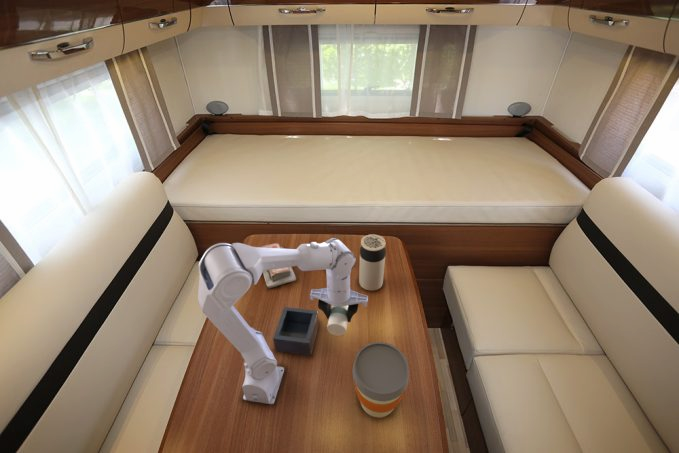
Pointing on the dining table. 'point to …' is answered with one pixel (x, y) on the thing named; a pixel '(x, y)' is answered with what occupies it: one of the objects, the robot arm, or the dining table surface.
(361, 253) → the travel mug
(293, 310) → the open box
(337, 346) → the dining table surface
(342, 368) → the dining table surface
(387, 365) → the reusable coffee cup
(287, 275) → the packaged product
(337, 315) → the paper roll
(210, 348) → the dining table surface
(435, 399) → the dining table surface
